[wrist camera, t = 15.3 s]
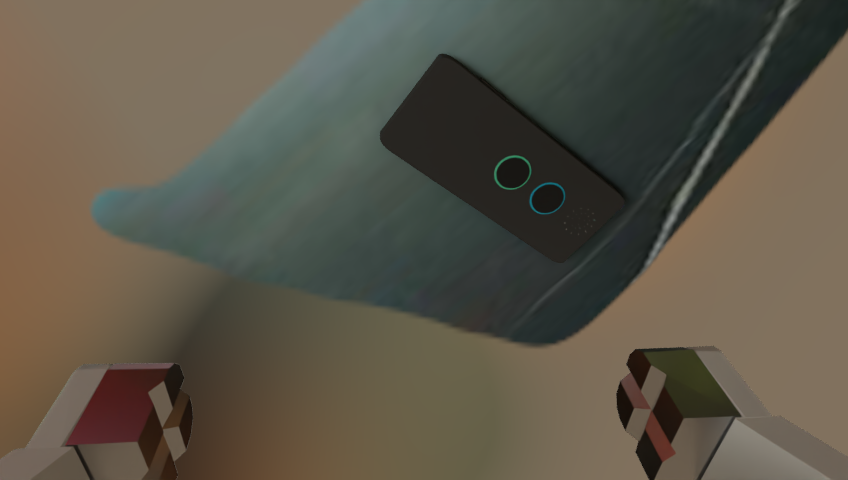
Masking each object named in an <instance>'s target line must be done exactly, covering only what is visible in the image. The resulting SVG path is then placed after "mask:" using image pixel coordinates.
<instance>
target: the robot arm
mask: <svg viewBox="0 0 848 480" xmlns="http://www.w3.org/2000/svg"><path fill="white" fill-rule="evenodd" d="M626 365H627V366H628V368H629V370H630V373H629V374H628V375H627V376H626V377H624V378H623V379H622V380H621V381H620V383H619V386H618V390H617V393H616V396H617V397H616V398H617V410H618V414H619V418H620V420H621V422H622V425H623V427H624V429H625V431H626V432H627V433H629V434H630V435H631V436H633V437H634V438H635V439H636V440H638V445H637V449H636V454H637V456H638V458H639V460H640V462H641V464H642V466H643V468H644V471H645V472H646V474H647V477H648V479H649V480H848V457H847V456H846V455H844V454H842V453H840V452H839V451H837V450H836V449H834V448H832V447H831V446H829V445H828V444H826V443H824V442H822V441H821V440H819V439H818V438H816V437H814V436H812V435H811V434H809V433H808V432H806V431H804V430H803V429H801V428H799V427H798V426H796V425H794V424H793V423H791V422H790V421H788V420H786V419H785V418H783V417H781V416H772V415H771V414H770V413H769V412H768V410H767V409H766V408H765V406H764V405H763V404H762V402H761V401H760V400H759V399H758V397H757V396H756V395H755V394H754V392H753V391H752V390H751V389H750V387H749V386H748V385H747V383H746V382H745V381H744V380H743V378H742V377H741V376H740V374H739V373H738V372H737V371H736V370H735V368H734V367H733V366H732V364H731V363H730V362H729V361H728V359H727V358H726V357H725V355H724V354H723V353H722V352H721V351H720V350H719V349H717V348H715V347H714V346H705V347H687V348H683V347H680V348H679V347H678V348H653V349H635V350H634V351H633V352H632V353H631V354H630V355H629V358H628V361H627V363H626ZM183 381H184V376H183V373H182V370H181V367H180V365H179V364H175V363H133V364H131V363H126V364H124V363H121V364H120V363H119V364H83V365H82V366H80V367H79V368H78V369H76V370H75V371H74V372H73V374H72V375H71V377H70V379H69V380H68V382H67V383H66V385H65V386H64V388H63V390H62V391H61V393H60V394H59V396H58V398H57V399H56V401H55V402H54V404H53V405H52V407H51V408H50V410H49V412H48V413H47V415H46V416H45V418H44V420H43V421H42V423H41V424H40V426H39V427H38V429H37V431H36V432H35V434H34V435H33V437H32V439H31V440H30V442H29V443H28V445H27V446H26V448H23V449H14V450H13V451H12V452H10V453H9V454H7V455H6V456H4V457H3V458H1V459H0V480H176V479H177V476H178V473H177V470H176V467H175V464H174V461H175V460H176V459H177V458H179V457H180V455H182V454H183V453H184V452H185V451H186V449H187V446H188V443H189V440H190V437H191V430H192V422H193V411H192V404H191V400H190V396H189V395H188V394H186V393H185V392H183V391H182V390H181V389H180V388H181V386H182V383H183Z"/></svg>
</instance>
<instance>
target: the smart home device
mask: <svg viewBox="0 0 848 480" xmlns="http://www.w3.org/2000/svg"><path fill="white" fill-rule="evenodd" d="M506 100H507V99H506V98H505V97H504V96H503V95H502V94H500V93H499V92H498V91H497V90H495V89H494V88H493V87H492V86H491V85H489V84H488V83H487V82H486V81H484V80H483V79H482V78H480V79H479V78H478V77H477V76H475V75H474V74H473V73H472V72H470V71H469V70H468V69H467V68H465V67H464V66H463V65H462V64H460V63H459V62H458V61H457V60H455V59H454V58H452V57H451V56H449V55H446V54H439V55H438V56H437V58H436V59H435V60H434V62H433V63H432V64H431V66H430V67H429V68H428V70H427V71H426V72H425V74H424V75H423V76H422V77H421V79H420V80H419V81H418V83H417V84H416V85H415V87H414V88H413V89H412V91H411V92H410V93H409V95H408V96H407V97H406V99H405V100H404V101H403V103H402V104H401V105H400V106H399V108H398V109H397V110H396V112H395V113H394V114H393V116H392V117H391V118H390V120H389V121H388V122H387V124H386V125H385V126H384V128H383V129H382V130H381V132H380V140H381V142H382V144H383V145H384V146H385V147H386V148H387V149H388V150H389V151H391V152H392V153H394V154H395V155H397V156H398V157H400V158H401V159H403V160H404V161H406V162H407V163H409V164H410V165H411V166H413V167H414V168H416V169H417V170H419V171H420V172H422V173H423V174H425V175H426V176H428V177H429V178H430V179H432V180H433V181H435V182H437V183H438V184H439V185H441V186H442V187H444V188H445V189H447V190H448V191H450V192H451V193H453V194H454V195H456V196H457V197H459V198H460V199H462V200H463V201H465V202H466V203H468V204H469V205H471V206H472V207H474V208H475V209H477V210H478V211H480V212H481V213H483V214H484V215H486V216H487V217H488V218H490V219H491V220H493V221H494V222H496V223H497V224H499V225H500V226H502V227H503V228H505V229H506V230H508V231H509V232H511V233H512V234H514V235H515V236H517V237H518V238H520V239H521V240H523V241H524V242H525V243H527V244H528V245H530V246H531V247H533V248H534V249H536V250H537V251H539V252H540V253H542V254H543V255H545V256H546V257H548V258H549V259H551V260H552V261H554V262H557V263H563V262H565V261H566V260H567V259H568V258H569V257H570V256H571V255H572V254H573V253H574V252H575V251H576V250H577V249H578V248H580V247H581V246H582V245H583V244H584V243H585V242H586V241H587V240H588V239H589V238H590V237H591V236H592V235H593V234H595V233H596V232H597V231H598V230H599V229H600V228H601V227H602V226H603V225H604V224H605V223H606V222H607V221H608V220H609V219H611V218H612V217H613V216H614V215H615V214H616V213H617V212H618V211H619V210H620V209H621V208H622V207H623V206H624V205H625V201H624V199H623V197H622V196H621V195H620V194H619V193H618V191H617V190H616V189H615V188H614V187H612V186H611V185H610V184H609V183H607V182H606V181H605V180H604V179H603V178H601V177H600V176H599V175H598V174H596V173H595V172H594V171H593V170H591V169H590V168H589V167H588V166H586V165H585V164H584V163H583V162H582V161H580V160H579V159H578V158H577V157H575V156H574V155H573V154H572V153H570V152H569V151H568V150H567V149H565V148H564V147H563V146H562V145H561V144H559V143H558V142H557V141H556V140H554V139H553V138H552V137H551V136H549V135H548V134H547V133H546V132H544V131H543V130H542V129H541V128H540V127H538V126H537V125H536V124H535V123H533V122H532V121H531V120H530V119H528V118H527V117H526V116H525V115H523V114H522V113H521V112H520V111H519V110H517V109H516V108H515V107H514V106H512V105H511V104H510V103H509V102H507V101H506Z"/></svg>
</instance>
